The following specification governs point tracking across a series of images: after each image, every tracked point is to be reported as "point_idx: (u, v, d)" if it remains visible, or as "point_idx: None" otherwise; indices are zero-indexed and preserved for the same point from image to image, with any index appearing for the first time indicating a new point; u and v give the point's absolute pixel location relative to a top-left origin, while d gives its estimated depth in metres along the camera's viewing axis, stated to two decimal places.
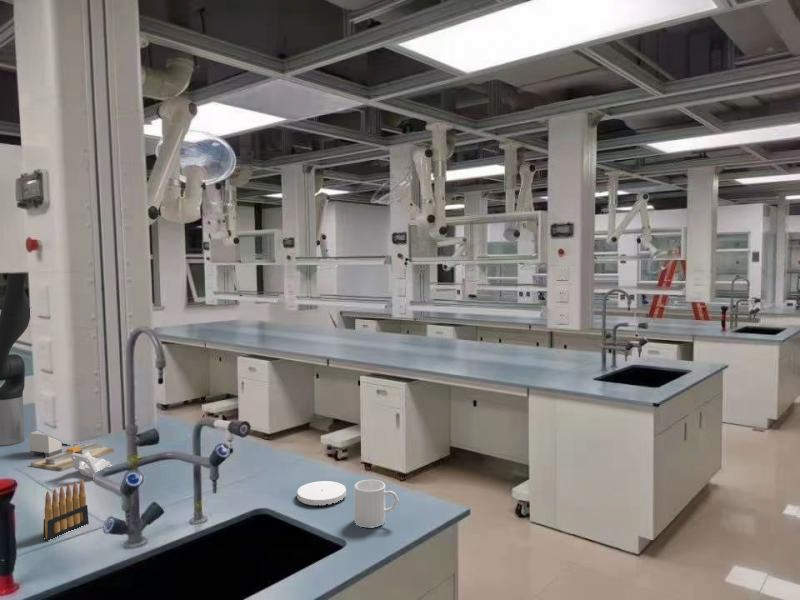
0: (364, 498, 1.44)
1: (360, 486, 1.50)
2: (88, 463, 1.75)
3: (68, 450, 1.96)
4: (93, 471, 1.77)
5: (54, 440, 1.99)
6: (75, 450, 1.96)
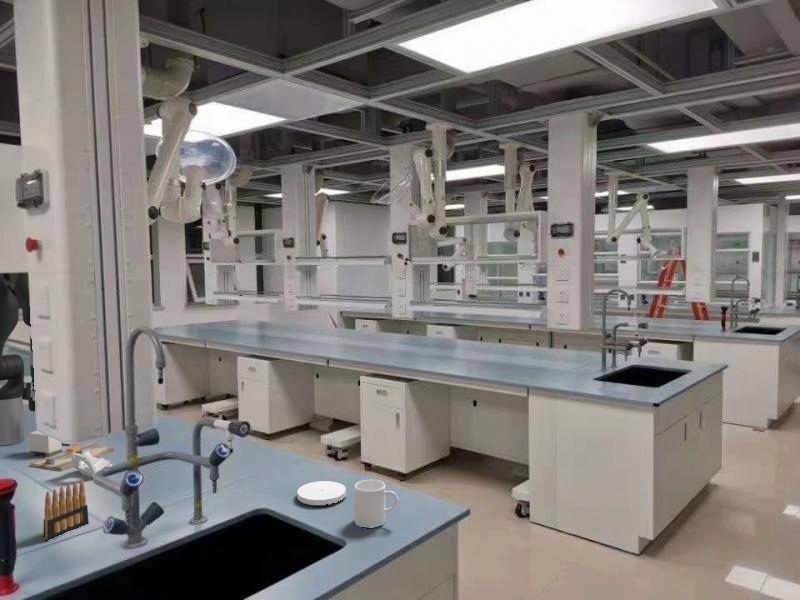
0: (364, 498, 1.44)
1: (360, 486, 1.50)
2: (87, 463, 1.76)
3: (68, 450, 1.96)
4: (92, 471, 1.77)
5: (54, 440, 1.99)
6: (75, 450, 1.96)
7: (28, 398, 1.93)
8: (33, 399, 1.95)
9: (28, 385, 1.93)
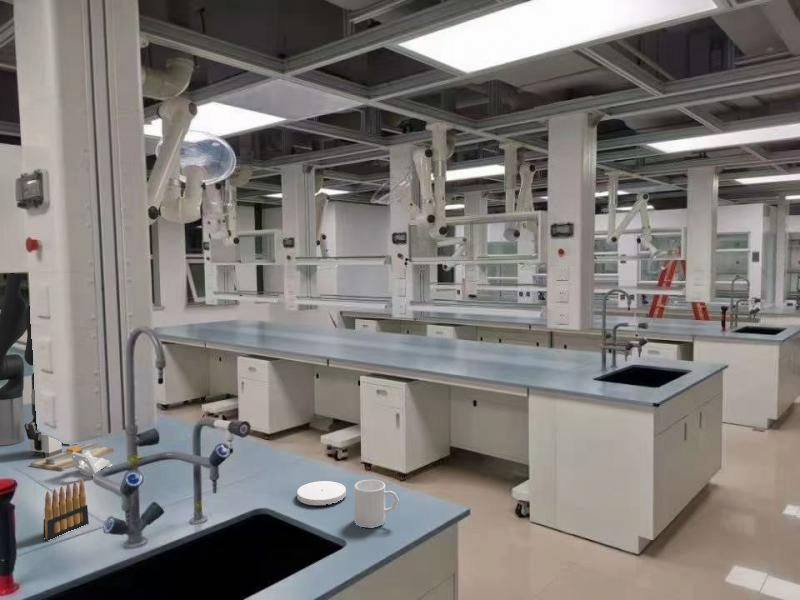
0: (364, 498, 1.44)
1: (360, 486, 1.50)
2: (87, 462, 1.76)
3: (68, 450, 1.96)
4: (92, 470, 1.77)
5: (54, 440, 1.99)
6: (75, 450, 1.96)
7: (34, 438, 1.96)
8: (39, 439, 1.97)
9: (30, 427, 1.94)
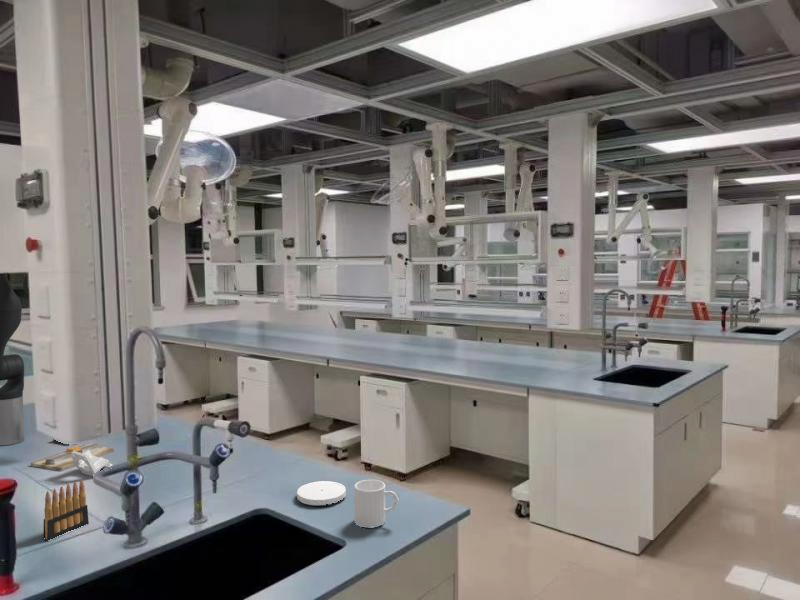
0: (364, 498, 1.44)
1: (360, 486, 1.50)
2: (86, 461, 1.77)
3: (68, 450, 1.96)
4: (91, 469, 1.78)
5: None
6: (75, 450, 1.96)
7: None
8: None
9: None
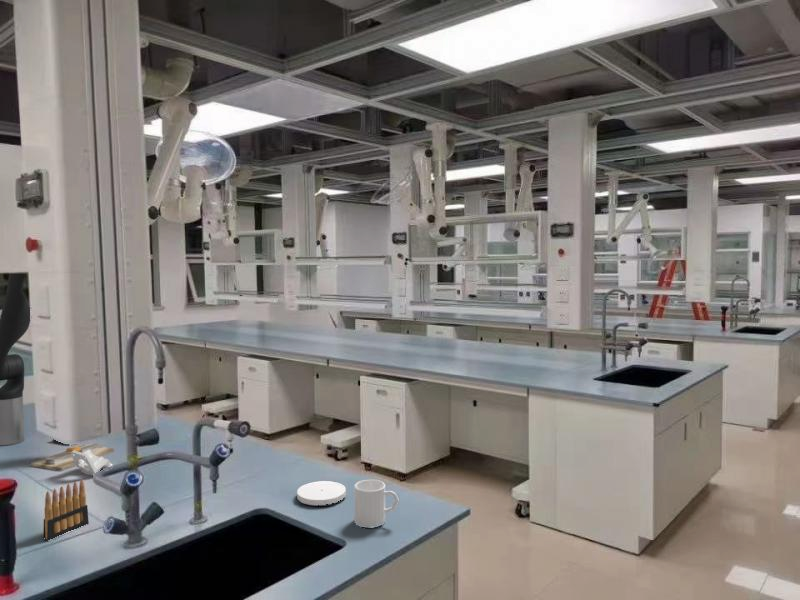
0: (364, 498, 1.44)
1: (360, 486, 1.50)
2: (86, 461, 1.77)
3: (68, 450, 1.96)
4: (91, 469, 1.78)
5: None
6: (75, 450, 1.96)
7: None
8: None
9: None
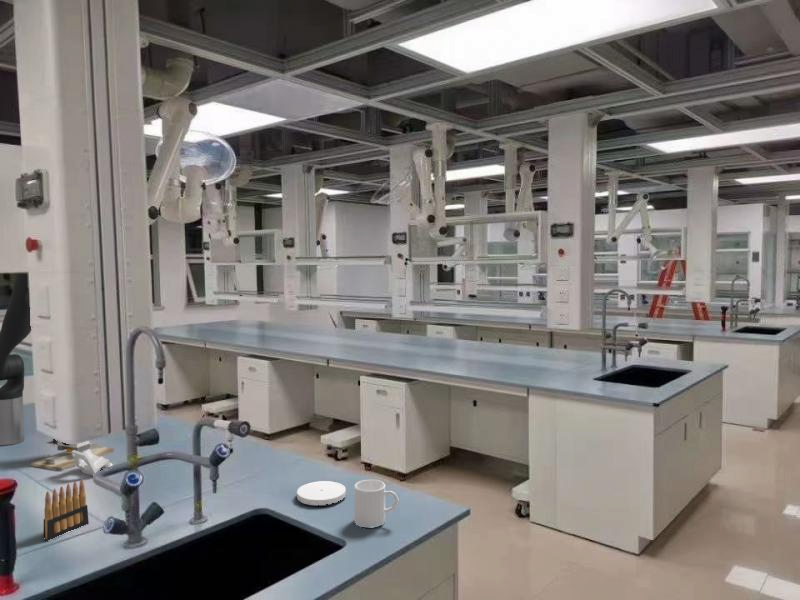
0: (364, 498, 1.44)
1: (360, 486, 1.50)
2: (86, 461, 1.77)
3: (68, 450, 1.96)
4: (91, 469, 1.79)
5: None
6: None
7: None
8: None
9: None
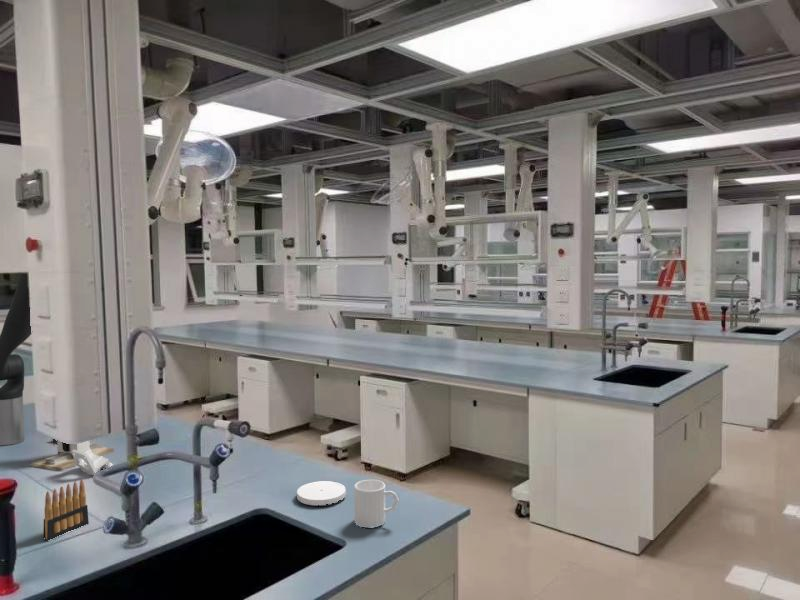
0: (364, 498, 1.44)
1: (360, 486, 1.50)
2: (86, 460, 1.78)
3: None
4: (91, 468, 1.79)
5: None
6: None
7: None
8: None
9: None
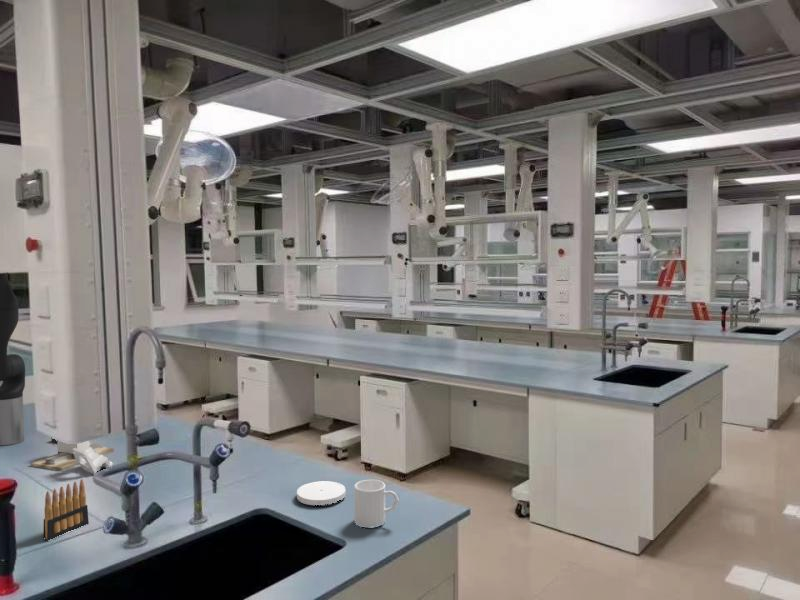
0: (364, 498, 1.44)
1: (360, 486, 1.50)
2: (85, 459, 1.79)
3: None
4: (90, 467, 1.80)
5: None
6: None
7: None
8: None
9: None
